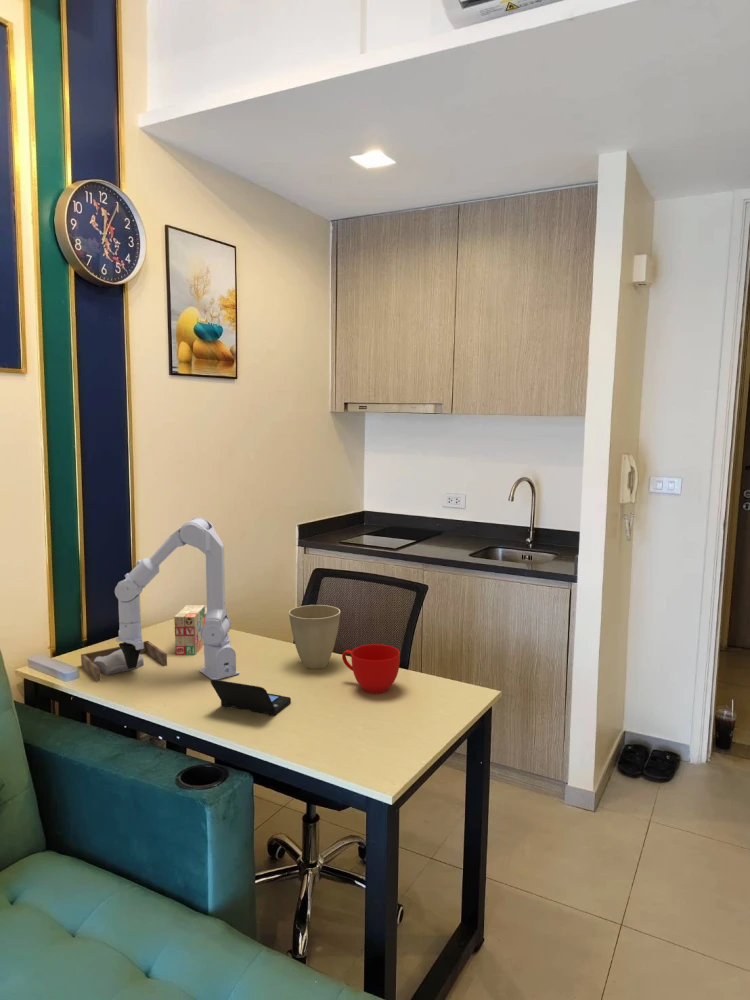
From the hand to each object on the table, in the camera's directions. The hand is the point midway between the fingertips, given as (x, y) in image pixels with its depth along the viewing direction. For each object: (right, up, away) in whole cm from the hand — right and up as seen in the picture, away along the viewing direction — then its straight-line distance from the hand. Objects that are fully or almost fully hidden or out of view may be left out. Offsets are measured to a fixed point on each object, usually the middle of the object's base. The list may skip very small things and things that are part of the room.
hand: (132, 667), depth 193 cm
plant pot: (+51, -1, +7) cm, 52 cm away
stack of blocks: (+11, +1, +25) cm, 27 cm away
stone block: (-5, -1, +4) cm, 6 cm away
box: (-4, -1, +5) cm, 7 cm away
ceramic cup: (+67, -3, -10) cm, 68 cm away
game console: (+38, -5, -23) cm, 45 cm away
